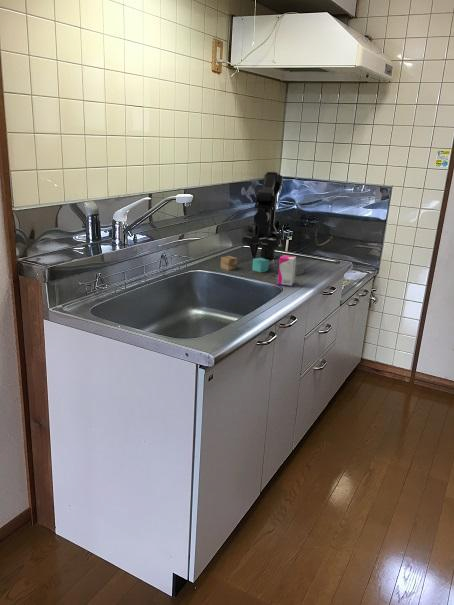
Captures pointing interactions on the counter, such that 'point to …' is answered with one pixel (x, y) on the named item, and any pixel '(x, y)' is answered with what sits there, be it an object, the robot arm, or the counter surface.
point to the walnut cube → (228, 263)
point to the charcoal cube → (299, 268)
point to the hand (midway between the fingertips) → (261, 256)
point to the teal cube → (260, 265)
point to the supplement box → (286, 270)
